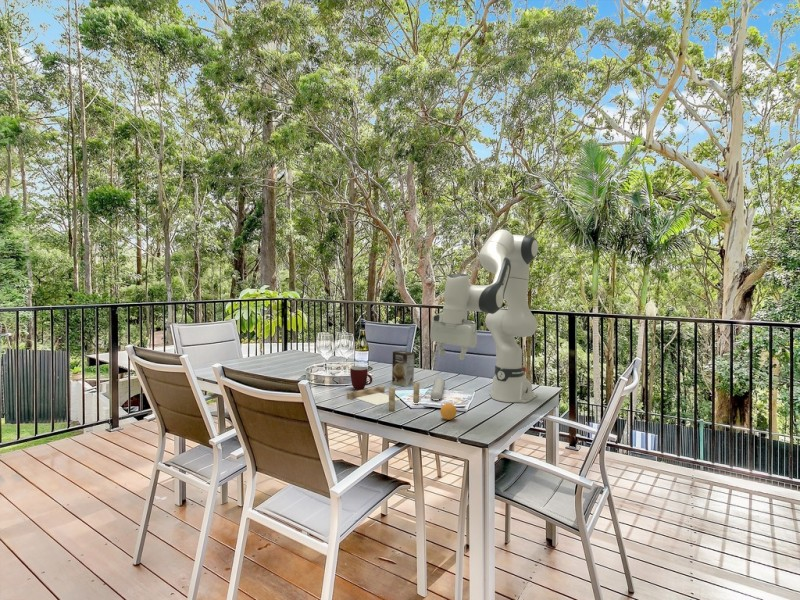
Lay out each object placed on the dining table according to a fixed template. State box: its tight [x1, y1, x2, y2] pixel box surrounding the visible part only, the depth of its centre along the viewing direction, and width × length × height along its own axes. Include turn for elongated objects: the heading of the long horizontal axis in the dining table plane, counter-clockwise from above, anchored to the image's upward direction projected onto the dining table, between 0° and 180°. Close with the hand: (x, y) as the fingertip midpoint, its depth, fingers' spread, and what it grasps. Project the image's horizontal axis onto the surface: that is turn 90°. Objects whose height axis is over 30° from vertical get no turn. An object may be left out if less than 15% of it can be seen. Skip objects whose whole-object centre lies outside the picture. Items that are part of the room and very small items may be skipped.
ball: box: [440, 402, 457, 421], centre depth 172 cm, size 6×6×6 cm
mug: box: [349, 366, 373, 391], centre depth 214 cm, size 10×8×10 cm
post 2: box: [412, 381, 420, 403], centre depth 192 cm, size 2×2×9 cm
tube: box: [430, 377, 446, 400], centre depth 209 cm, size 5×5×25 cm
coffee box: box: [391, 350, 415, 388], centre depth 225 cm, size 9×6×16 cm
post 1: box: [388, 386, 396, 412], centre depth 182 cm, size 2×2×9 cm
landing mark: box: [355, 392, 401, 406], centre depth 199 cm, size 14×14×1 cm
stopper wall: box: [346, 385, 386, 400], centre depth 204 cm, size 20×2×2 cm, turn 134°
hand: (451, 357), depth 164 cm, fingers open, 8 cm apart
